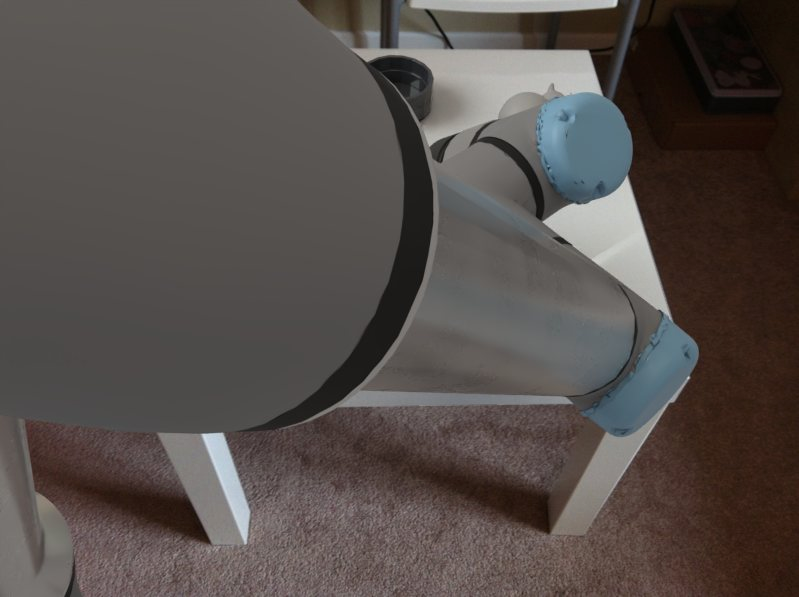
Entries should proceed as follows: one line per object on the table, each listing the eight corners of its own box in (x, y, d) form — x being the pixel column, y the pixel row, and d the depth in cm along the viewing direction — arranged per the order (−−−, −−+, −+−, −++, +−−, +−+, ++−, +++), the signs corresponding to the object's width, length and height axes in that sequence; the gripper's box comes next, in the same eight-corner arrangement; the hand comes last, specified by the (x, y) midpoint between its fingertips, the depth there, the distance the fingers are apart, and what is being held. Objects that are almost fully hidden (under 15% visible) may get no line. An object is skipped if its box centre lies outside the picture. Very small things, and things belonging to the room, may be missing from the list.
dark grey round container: (399, 138, 98) (400, 110, 94) (343, 105, 102) (342, 77, 98) (445, 103, 103) (448, 76, 99) (390, 73, 107) (391, 46, 103)
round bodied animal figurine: (584, 142, 99) (600, 89, 92) (518, 178, 94) (530, 124, 87) (546, 114, 102) (559, 60, 95) (481, 147, 97) (489, 93, 91)
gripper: (436, 247, 62) (329, 257, 83) (546, 180, 67) (419, 205, 88) (397, 165, 60) (298, 196, 81) (513, 103, 65) (392, 147, 86)
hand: (361, 201), depth 84 cm, fingers closed
